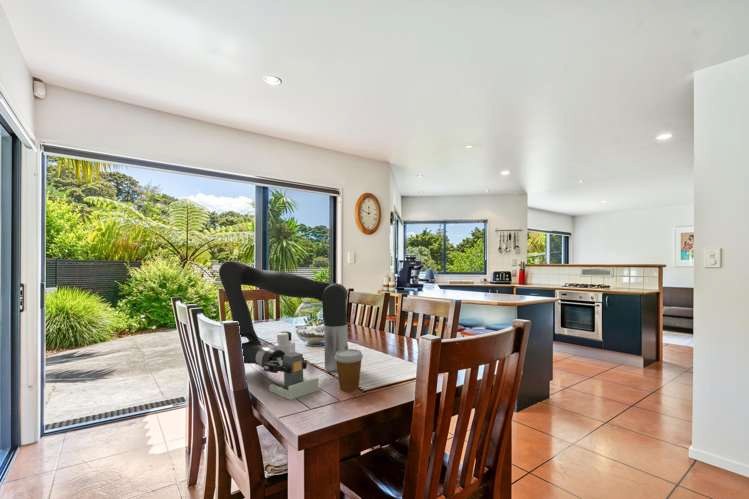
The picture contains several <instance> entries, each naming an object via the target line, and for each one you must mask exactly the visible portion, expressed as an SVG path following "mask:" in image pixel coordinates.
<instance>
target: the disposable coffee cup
mask: <svg viewBox="0 0 749 499" xmlns="http://www.w3.org/2000/svg"><path fill="white" fill-rule="evenodd" d="M363 358H364V355H363V353H362V351H361V350H359V349H349V348H348V349H346V350H340V351H338V352H336V355H335V360H336V363H337V371H336V372H337V375H338V376H337V377H338V384H339V390H340V391H342V392H348V393H349V392H350V393H351V392H355V391H357V390H359V388H360V387H359V386H360V378H361V377H360V376H361V370H362V369H361V367H362V360H363Z"/></svg>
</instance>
